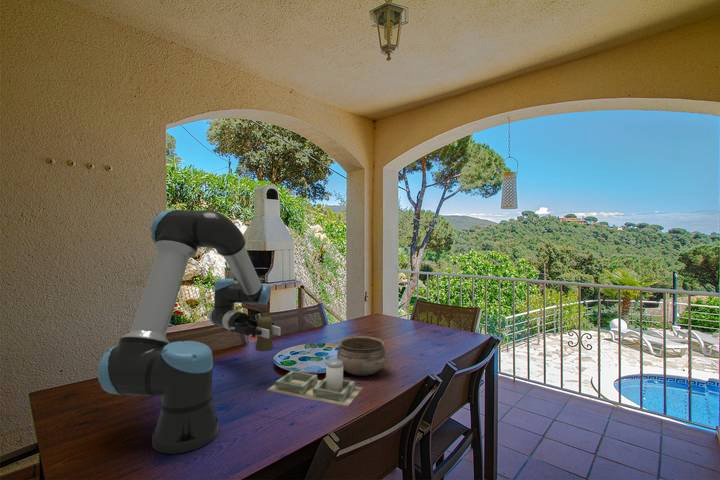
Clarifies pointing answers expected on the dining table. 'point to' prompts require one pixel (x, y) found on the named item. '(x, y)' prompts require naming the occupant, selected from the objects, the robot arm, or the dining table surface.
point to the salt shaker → (334, 375)
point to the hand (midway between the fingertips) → (274, 332)
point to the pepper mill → (262, 342)
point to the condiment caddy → (314, 388)
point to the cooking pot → (362, 355)
